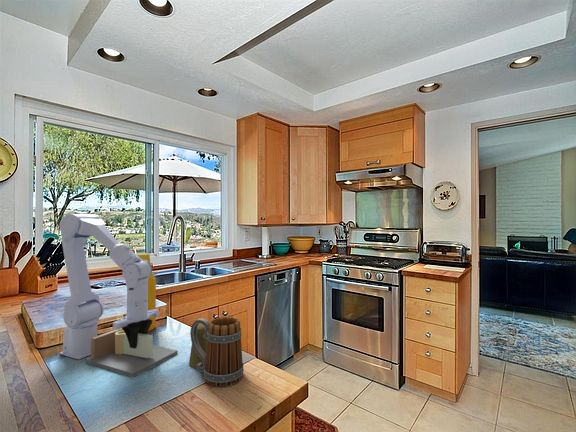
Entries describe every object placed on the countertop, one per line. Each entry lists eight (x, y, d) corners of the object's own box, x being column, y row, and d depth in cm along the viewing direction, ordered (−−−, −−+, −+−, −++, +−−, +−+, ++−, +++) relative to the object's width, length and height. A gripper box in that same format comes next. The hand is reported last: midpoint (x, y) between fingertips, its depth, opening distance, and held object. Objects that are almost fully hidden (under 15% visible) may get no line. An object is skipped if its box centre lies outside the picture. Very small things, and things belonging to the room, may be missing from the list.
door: (112, 353, 94) (112, 333, 94) (124, 348, 98) (123, 329, 98) (144, 359, 88) (144, 338, 88) (155, 354, 92) (155, 334, 92)
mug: (250, 371, 85) (250, 317, 85) (231, 391, 75) (231, 330, 75) (202, 362, 90) (203, 311, 91) (179, 380, 80) (179, 323, 81)
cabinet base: (85, 362, 90) (86, 338, 90) (133, 343, 104) (133, 322, 105) (133, 377, 82) (133, 351, 82) (177, 353, 96) (177, 331, 96)
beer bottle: (159, 328, 118) (160, 254, 119) (135, 335, 111) (136, 256, 112) (149, 323, 124) (150, 252, 125) (125, 329, 118) (126, 254, 118)
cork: (204, 368, 86) (204, 329, 87) (184, 366, 88) (185, 328, 88) (213, 359, 92) (213, 323, 93) (195, 357, 94) (195, 321, 94)
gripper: (125, 308, 84) (124, 358, 84) (165, 297, 98) (165, 339, 97) (108, 305, 87) (107, 353, 87) (149, 294, 101) (149, 336, 100)
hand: (136, 346), depth 92 cm, fingers closed on door, 2 cm apart
